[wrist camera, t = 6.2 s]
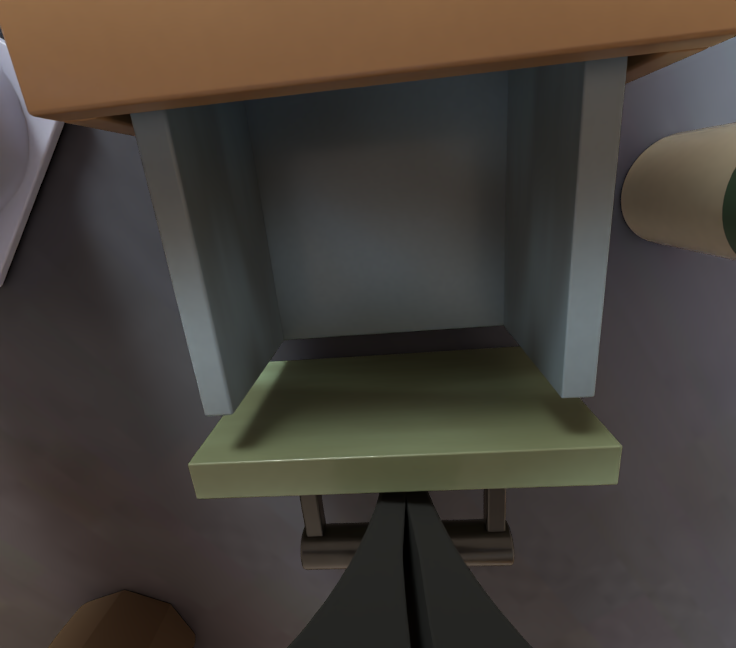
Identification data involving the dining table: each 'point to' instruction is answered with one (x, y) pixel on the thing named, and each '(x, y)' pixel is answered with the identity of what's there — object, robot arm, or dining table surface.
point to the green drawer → (395, 287)
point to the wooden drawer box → (319, 46)
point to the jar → (686, 192)
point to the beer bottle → (125, 624)
